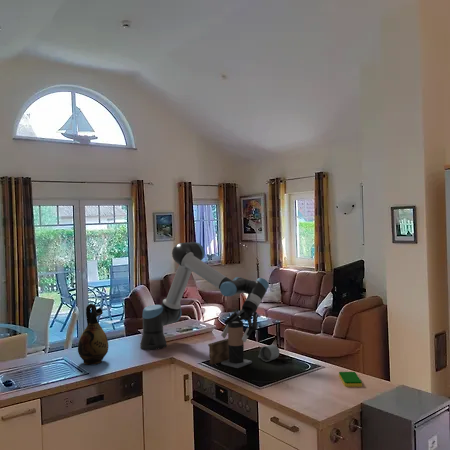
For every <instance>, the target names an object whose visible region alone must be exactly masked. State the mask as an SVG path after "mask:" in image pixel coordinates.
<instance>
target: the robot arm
mask: <svg viewBox="0 0 450 450" xmlns="http://www.w3.org/2000/svg"><path fill="white" fill-rule="evenodd" d="M205 254H206V253H205V249H204V246H203V245H202V244H201V243H199V242H196V241H191V242H180V243H177V244H176V245H174V247H173V249H172V251H171V257H172V259H173V260H174V262H175V263H176V264H178V266H177V269H176V271H175V274H174V277H173V280H172V282H171V285H170V288H169V291H168V294H167V296H166V298H164V299H162V302H161V304H153V305H148V306H145V307H144V308H143V309H142V336H141V340H140V345H139V346H140V347H139V348H140V349H141V350H145V351H153V350H161V349H164V348H166V347H167V345H168V344H167V340H166V336H165V333H164V327H165V326H167V325H169V326H170V325H172V324H175V323H177V322H178V321H180V319H181V318H182V315H183V314H182V313H183V311H182V305H181V302H182V298H183V296H184V293H185V291H186V289H187V286H188V283H189V280H190V277H191V275H192V272H193V273H194V274H196V275H197V276H199V277H200V278H202V279H203V280H205V281H206V282H208V283H210V284H211V285H212V286H214V287H215V288H217V289H219V291H220V293H221V295H222V296H224V297H233V296H236V295H239V294H247V297H246V298H245V300H244V302H243V303H242V307H241V310H238V308H236V309H235V311H234V312H233V313H232V314H231V315H230V316H229V317H227V319H225V320H224V321H223V323H224V328H223V331H222V333H221V337H222V338H223V339H226V337H227V336H228V321H230V320H231V321H236V320H241V321H247V325H248V327H247V328H246V330H245V331H244V332H243V337H242V340H243V341H244V343H247V340H248V339H249V337H250V335H251V334H252V332H253V331H257V330H258V319H259V318H258V317H259V313H257V311H258V308H259V306H260V305H261V302H262V301H263V299H264V296H265V295H266V293H267V292H268V289H269V286H270V283H269V282H268V280H266V279H265V278H262V277H258V278H256V280H251V279H247V278H244V277H240V276H235V277H234V278H233V279H231V278H229V277H228V276H226V275H224V274H223V273H222V272H220V271H218V270H217V269H215V268H213V267H212V266H210V265H209V264H207V263H206V262H204V261H203V259H204V257H205Z"/></svg>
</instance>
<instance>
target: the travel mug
mask: <svg viewBox="0 0 450 450" xmlns="http://www.w3.org/2000/svg"><path fill="white" fill-rule="evenodd" d="M243 335H244V320H236V321H231V320H230V321H228V334H227V336H228V337H227V339H228V344H229V345H228V346H229V361H230V362H231V363H242V362H243V361H244V359H245V358H244V357H245V355H244V354H245V353H244V352H245V351H244V349H245V348H244V346H245V345H244V343H245V342H244V341H243V340H242V337H243Z"/></svg>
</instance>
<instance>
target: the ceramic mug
mask: <svg viewBox="0 0 450 450" xmlns="http://www.w3.org/2000/svg"><path fill="white" fill-rule="evenodd" d="M279 356H280V349H279V347H278V346H277V345H275V344H270V345H263V346H261V348H260V350H259V354H258V359H261V360H262V361H263V362H266V363H268V362H270V361H273V360H276V359H278V358H279Z"/></svg>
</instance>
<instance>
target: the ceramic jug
mask: <svg viewBox="0 0 450 450" xmlns="http://www.w3.org/2000/svg"><path fill="white" fill-rule="evenodd" d="M103 313H104V312H103V309H102V307H98V308H97V306H96V304H93V303H89V304H87V306H86V308H85V314H86V315H85V317H86V323H87V325H86V327H85V329H84V330H83V332H82V333H81V335H80V337H79V340H78V344H77V352H78V353H77V354H78V355H79V357H80V358H81V360H82V361H83V364H84V365H87V366H91V365H93V366H94V365H98V364H102V362H103V359H104V358H105V357H106V355H107V353H108V352H109V351H108V350H109V340H108V337H107V334H106V333H105V331H104V329H103V327H102V326H101V325H100V323H99V322H98V321H99V320H98V317H100V316H102V314H103Z"/></svg>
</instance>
